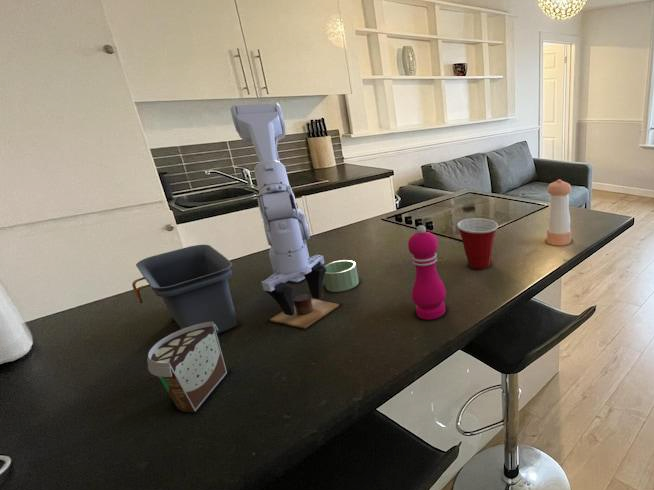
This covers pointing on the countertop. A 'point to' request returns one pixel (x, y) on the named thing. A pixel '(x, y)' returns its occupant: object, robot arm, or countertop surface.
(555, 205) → the salt shaker
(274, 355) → the countertop surface
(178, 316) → the storage bin
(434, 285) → the pepper mill
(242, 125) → the robot arm
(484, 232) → the plastic cup
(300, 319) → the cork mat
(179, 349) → the food container
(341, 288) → the green cup
